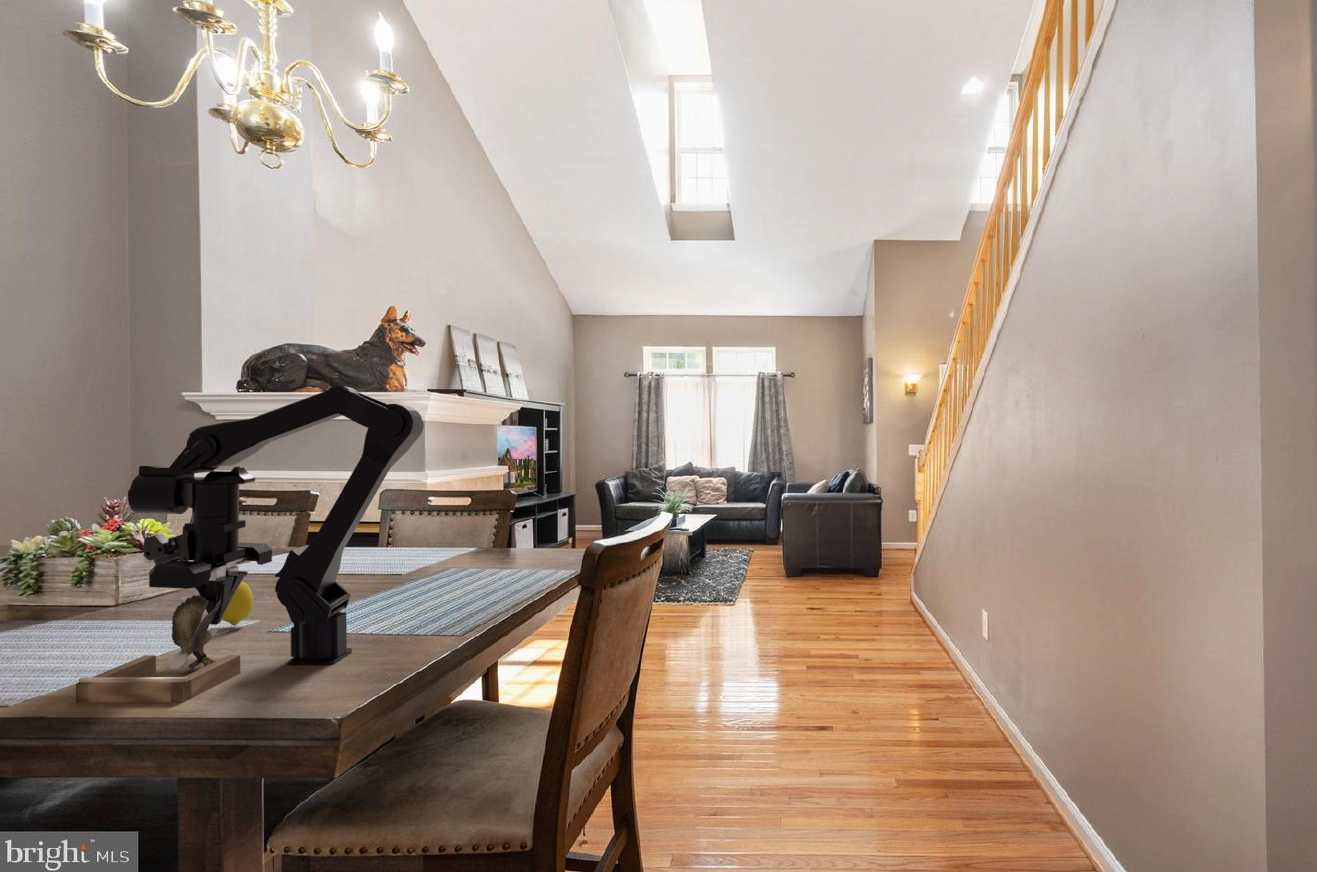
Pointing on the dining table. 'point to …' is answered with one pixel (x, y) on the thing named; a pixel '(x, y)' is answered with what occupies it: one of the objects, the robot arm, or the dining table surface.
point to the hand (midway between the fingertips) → (214, 623)
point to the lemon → (239, 605)
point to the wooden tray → (153, 682)
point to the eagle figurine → (192, 632)
